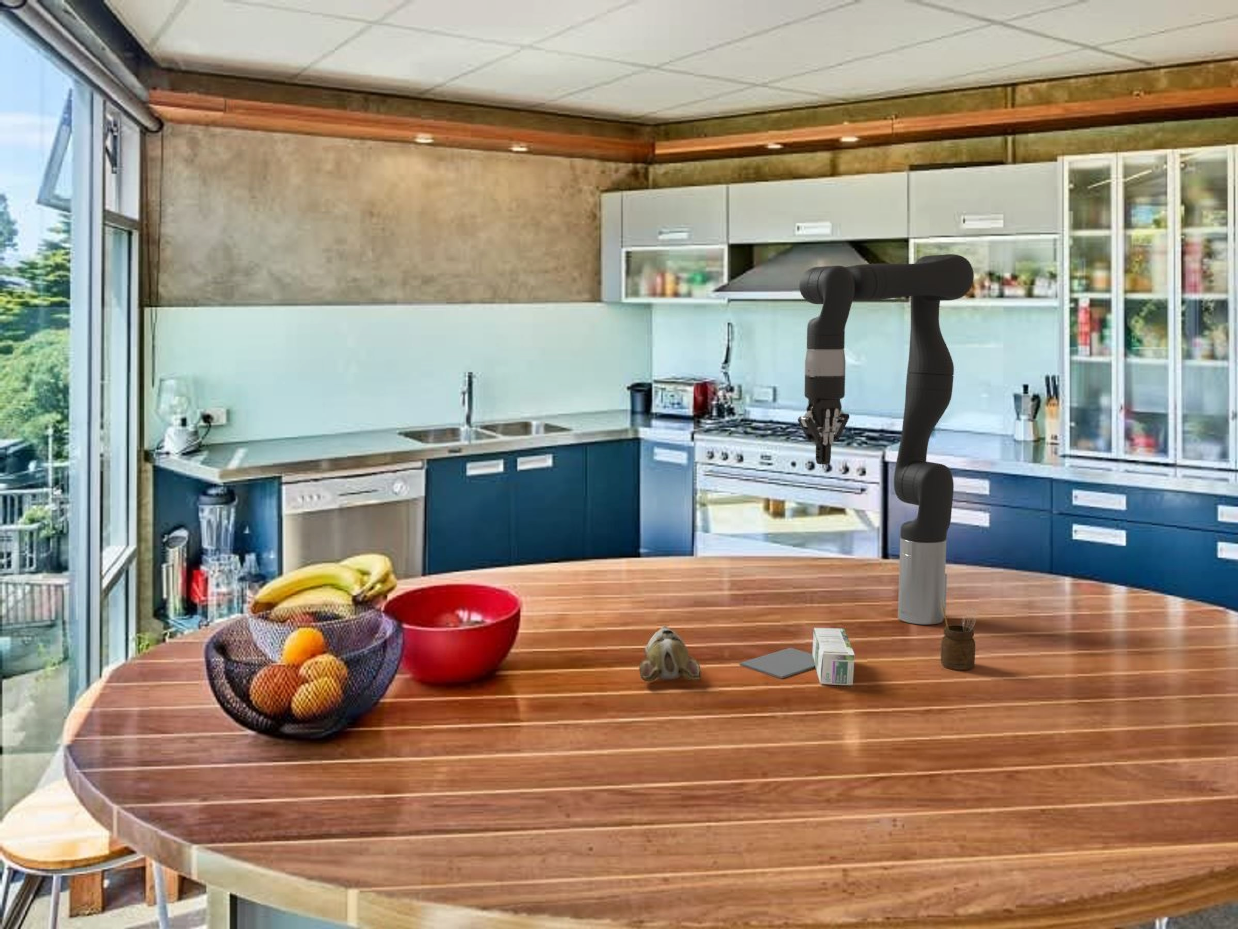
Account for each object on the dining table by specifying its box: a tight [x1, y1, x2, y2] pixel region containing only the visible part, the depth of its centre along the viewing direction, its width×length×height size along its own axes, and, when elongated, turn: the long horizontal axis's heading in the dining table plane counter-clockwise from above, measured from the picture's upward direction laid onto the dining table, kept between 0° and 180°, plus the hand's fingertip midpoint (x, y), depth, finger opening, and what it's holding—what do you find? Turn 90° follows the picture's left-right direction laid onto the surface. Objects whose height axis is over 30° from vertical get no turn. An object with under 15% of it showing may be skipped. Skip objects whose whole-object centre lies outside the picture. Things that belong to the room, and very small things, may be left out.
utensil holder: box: [940, 600, 978, 671], centre depth 194 cm, size 6×6×12 cm
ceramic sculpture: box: [638, 625, 701, 682], centre depth 189 cm, size 11×9×15 cm
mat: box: [739, 647, 816, 679], centre depth 196 cm, size 14×10×1 cm
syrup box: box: [811, 627, 856, 686], centre depth 191 cm, size 6×6×14 cm
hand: (823, 463), depth 205 cm, fingers closed
